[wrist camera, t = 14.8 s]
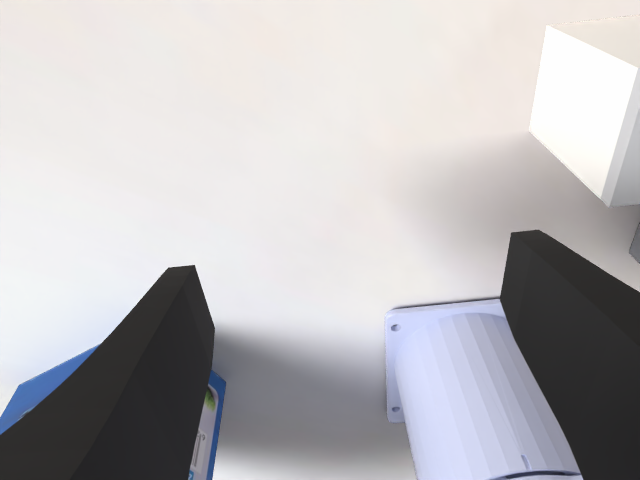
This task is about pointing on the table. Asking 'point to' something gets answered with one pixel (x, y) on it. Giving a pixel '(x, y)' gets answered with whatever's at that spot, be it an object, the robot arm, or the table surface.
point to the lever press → (636, 246)
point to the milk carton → (51, 379)
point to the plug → (593, 104)
